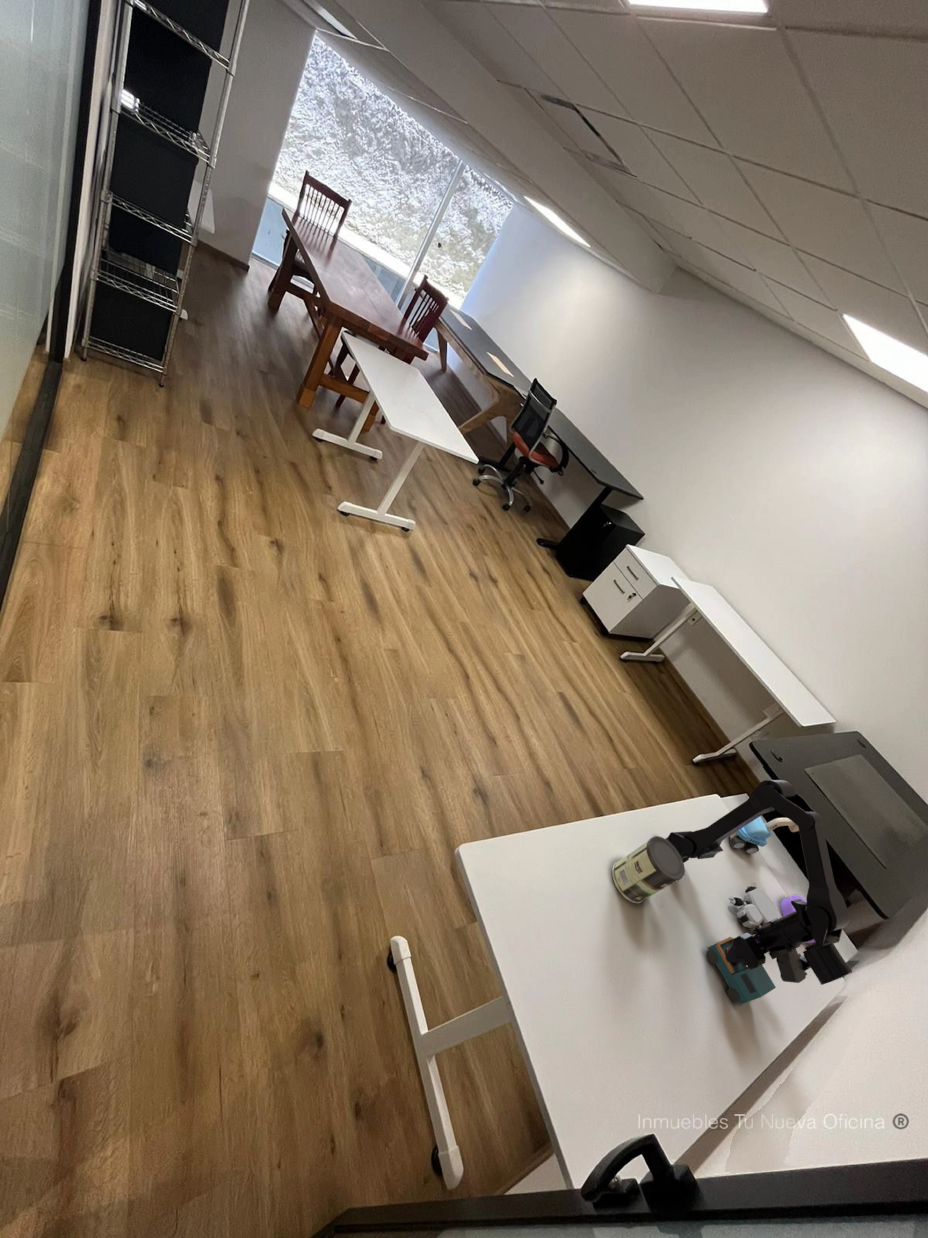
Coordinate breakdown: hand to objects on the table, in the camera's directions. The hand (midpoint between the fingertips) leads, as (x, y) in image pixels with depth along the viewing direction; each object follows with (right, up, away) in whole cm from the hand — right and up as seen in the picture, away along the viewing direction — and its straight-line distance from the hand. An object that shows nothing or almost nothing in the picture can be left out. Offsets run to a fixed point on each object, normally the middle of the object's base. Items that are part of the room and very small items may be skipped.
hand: (737, 954), depth 126 cm
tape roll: (+31, -8, +27) cm, 42 cm away
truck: (-2, -6, +2) cm, 6 cm away
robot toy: (+13, -2, +19) cm, 24 cm away
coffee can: (-24, +14, +7) cm, 28 cm away
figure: (-1, -1, +1) cm, 2 cm away
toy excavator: (+23, +10, +41) cm, 48 cm away
